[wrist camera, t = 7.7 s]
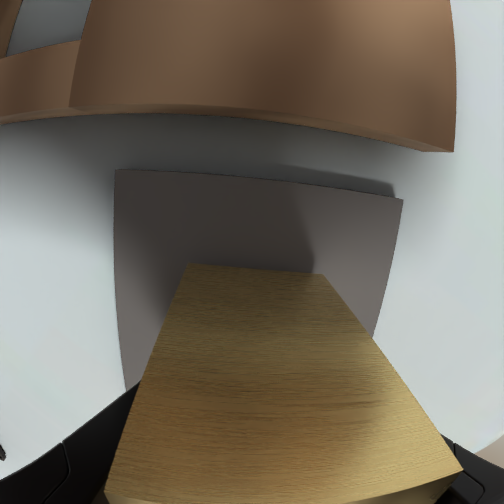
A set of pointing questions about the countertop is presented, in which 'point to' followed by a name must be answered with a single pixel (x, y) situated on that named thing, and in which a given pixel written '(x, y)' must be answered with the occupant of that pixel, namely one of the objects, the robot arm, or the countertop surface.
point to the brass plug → (273, 403)
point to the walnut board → (249, 65)
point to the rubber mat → (240, 242)
